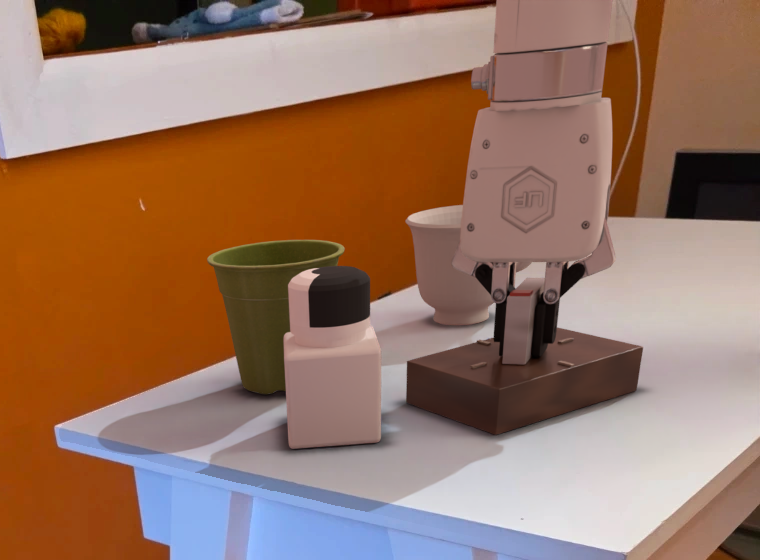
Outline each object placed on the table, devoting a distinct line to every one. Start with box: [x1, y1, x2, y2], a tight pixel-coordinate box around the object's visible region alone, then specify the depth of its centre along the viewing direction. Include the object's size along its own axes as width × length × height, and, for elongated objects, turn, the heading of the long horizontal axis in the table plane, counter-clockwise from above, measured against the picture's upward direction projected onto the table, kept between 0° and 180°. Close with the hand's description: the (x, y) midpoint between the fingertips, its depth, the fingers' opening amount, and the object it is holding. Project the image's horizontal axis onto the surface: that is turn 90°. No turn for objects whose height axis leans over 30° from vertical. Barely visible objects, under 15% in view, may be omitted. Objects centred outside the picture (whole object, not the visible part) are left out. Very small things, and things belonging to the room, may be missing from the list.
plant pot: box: [206, 239, 346, 395], centre depth 85 cm, size 12×12×11 cm
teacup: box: [404, 204, 533, 326], centre depth 98 cm, size 12×15×10 cm
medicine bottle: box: [284, 265, 382, 450], centre depth 73 cm, size 7×7×12 cm
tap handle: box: [502, 277, 545, 365], centre depth 76 cm, size 6×2×5 cm, turn 153°
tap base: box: [405, 326, 644, 436], centre depth 78 cm, size 15×11×4 cm
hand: (523, 350), depth 77 cm, fingers closed on tap handle, 2 cm apart
